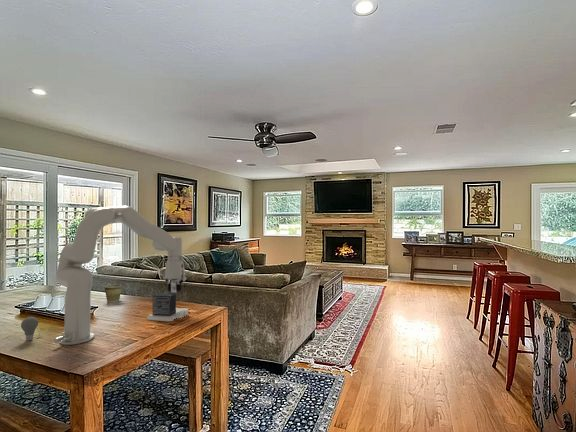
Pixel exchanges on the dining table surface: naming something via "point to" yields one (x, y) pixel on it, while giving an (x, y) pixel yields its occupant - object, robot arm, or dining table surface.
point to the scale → (179, 314)
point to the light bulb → (29, 327)
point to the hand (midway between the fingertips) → (174, 290)
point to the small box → (164, 304)
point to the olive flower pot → (113, 293)
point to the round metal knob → (174, 286)
